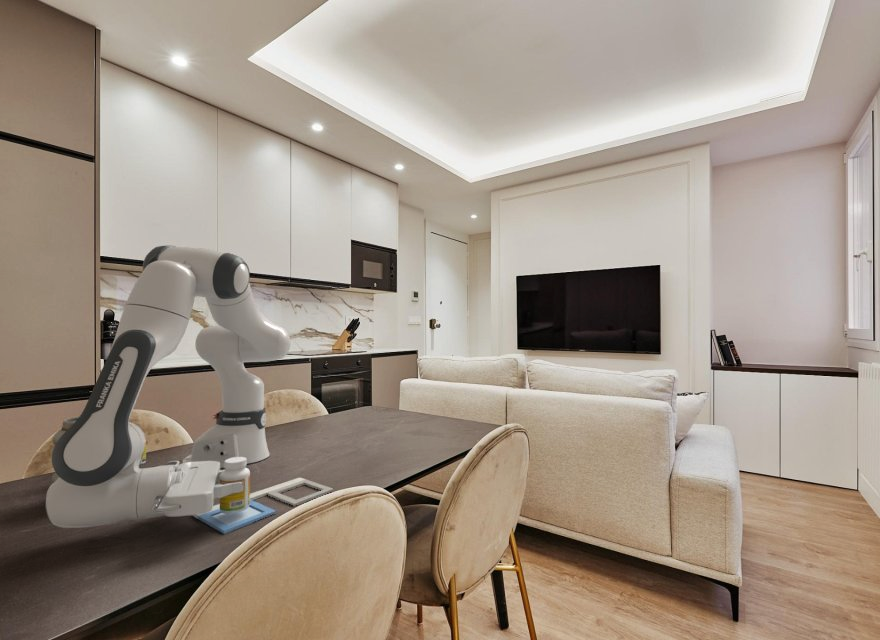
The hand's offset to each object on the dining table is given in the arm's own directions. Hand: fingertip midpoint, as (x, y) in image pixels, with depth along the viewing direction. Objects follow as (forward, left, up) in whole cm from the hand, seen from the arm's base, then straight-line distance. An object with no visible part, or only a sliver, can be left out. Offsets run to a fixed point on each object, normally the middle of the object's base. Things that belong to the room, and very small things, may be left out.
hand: (242, 480), depth 84 cm
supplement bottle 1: (-45, +35, -7) cm, 57 cm away
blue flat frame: (+3, +6, -7) cm, 10 cm away
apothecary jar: (-39, +11, -7) cm, 41 cm away
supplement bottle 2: (-1, -1, -6) cm, 6 cm away
